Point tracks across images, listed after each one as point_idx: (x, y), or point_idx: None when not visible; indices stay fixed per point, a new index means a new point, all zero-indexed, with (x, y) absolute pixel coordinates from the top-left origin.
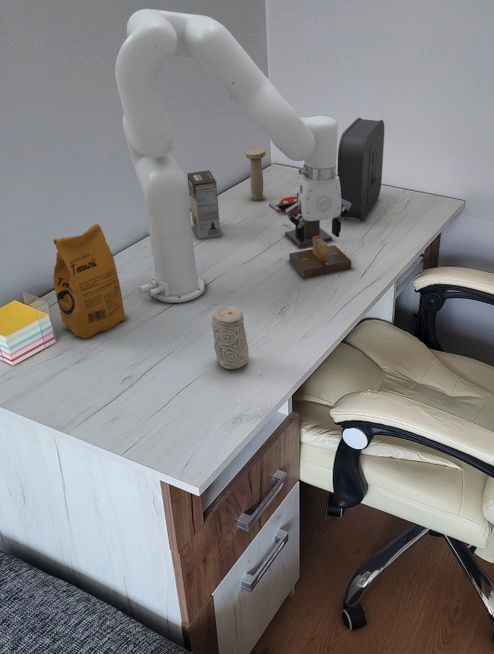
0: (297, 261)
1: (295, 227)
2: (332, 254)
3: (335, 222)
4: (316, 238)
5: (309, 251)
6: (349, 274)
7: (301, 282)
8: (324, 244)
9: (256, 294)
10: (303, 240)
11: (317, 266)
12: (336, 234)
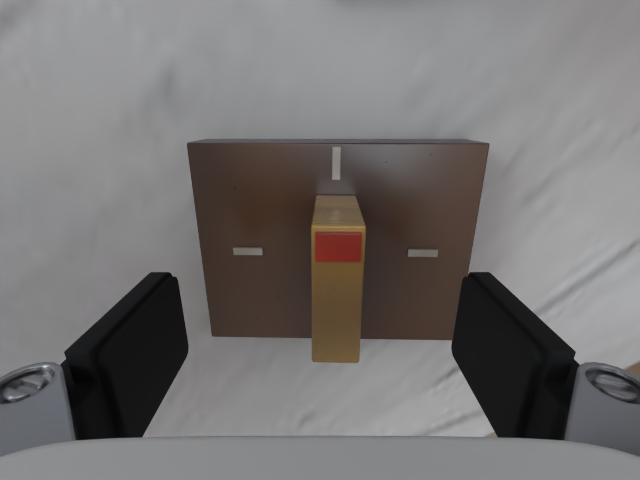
0: (204, 252)
1: (62, 363)
2: (407, 256)
3: (513, 418)
4: (328, 258)
5: (307, 168)
6: (412, 345)
7: (206, 330)
8: (338, 357)
9: (20, 344)
10: (179, 361)
11: (281, 332)
12: (458, 365)
